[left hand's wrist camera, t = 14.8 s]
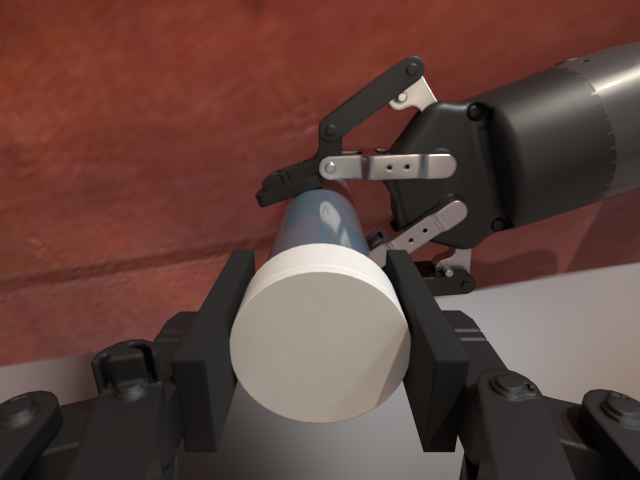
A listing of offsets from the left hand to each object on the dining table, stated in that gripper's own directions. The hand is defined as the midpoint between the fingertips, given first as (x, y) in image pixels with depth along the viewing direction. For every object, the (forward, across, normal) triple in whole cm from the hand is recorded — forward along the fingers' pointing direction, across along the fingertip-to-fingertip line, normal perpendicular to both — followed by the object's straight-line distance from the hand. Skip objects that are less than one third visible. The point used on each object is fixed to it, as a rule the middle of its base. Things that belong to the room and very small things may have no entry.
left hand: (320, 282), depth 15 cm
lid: (-4, 0, 0) cm, 4 cm away
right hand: (+8, -2, -1) cm, 8 cm away
